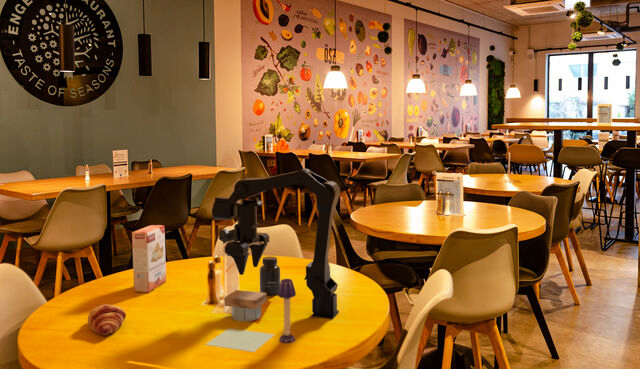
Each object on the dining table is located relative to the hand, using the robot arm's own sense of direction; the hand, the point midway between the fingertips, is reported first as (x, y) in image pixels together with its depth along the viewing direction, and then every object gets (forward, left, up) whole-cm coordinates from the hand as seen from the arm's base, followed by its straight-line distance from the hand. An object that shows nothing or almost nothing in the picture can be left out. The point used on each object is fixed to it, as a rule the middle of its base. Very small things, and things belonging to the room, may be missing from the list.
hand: (248, 270), depth 171 cm
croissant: (+32, +26, -12) cm, 43 cm away
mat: (-10, +23, -12) cm, 28 cm away
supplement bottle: (+1, -17, -12) cm, 21 cm away
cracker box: (+44, -10, -12) cm, 47 cm away
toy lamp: (-22, +20, -12) cm, 32 cm away
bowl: (-3, +7, -12) cm, 14 cm away
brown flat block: (-3, +7, -8) cm, 11 cm away
